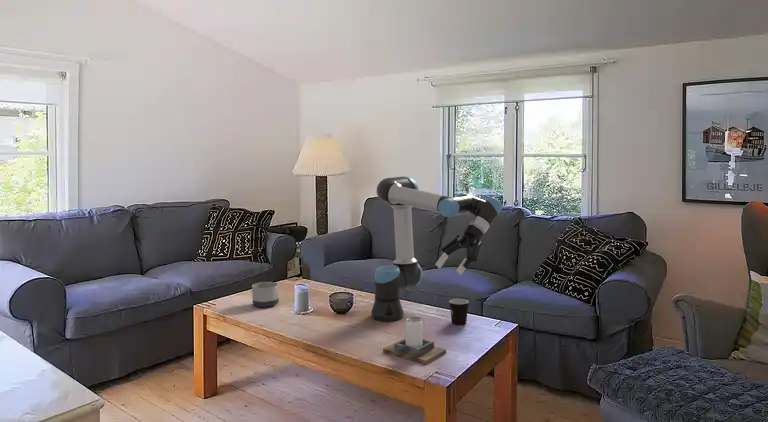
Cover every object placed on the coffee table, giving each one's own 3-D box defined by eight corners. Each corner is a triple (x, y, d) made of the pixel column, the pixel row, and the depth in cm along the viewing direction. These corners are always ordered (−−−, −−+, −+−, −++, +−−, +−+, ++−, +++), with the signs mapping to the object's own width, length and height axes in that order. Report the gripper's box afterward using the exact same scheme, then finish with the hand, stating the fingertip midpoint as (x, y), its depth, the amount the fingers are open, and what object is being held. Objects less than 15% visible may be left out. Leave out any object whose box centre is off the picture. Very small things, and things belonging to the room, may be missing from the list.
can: (411, 345, 218) (411, 315, 216) (425, 348, 214) (425, 318, 212) (402, 350, 212) (402, 319, 211) (416, 353, 209) (416, 322, 207)
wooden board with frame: (383, 352, 214) (382, 342, 214) (404, 341, 225) (404, 332, 225) (425, 364, 202) (425, 354, 202) (446, 352, 213) (446, 343, 212)
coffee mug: (468, 326, 243) (468, 304, 242) (448, 325, 245) (448, 303, 243) (469, 318, 254) (469, 297, 253) (450, 317, 256) (450, 296, 255)
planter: (275, 308, 273) (275, 288, 271) (250, 309, 273) (249, 288, 271) (281, 301, 285) (280, 281, 284) (256, 301, 285) (255, 281, 284)
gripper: (502, 239, 220) (472, 281, 214) (462, 231, 241) (434, 269, 235) (492, 227, 216) (462, 270, 210) (452, 220, 237) (424, 258, 231)
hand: (447, 269), depth 223 cm, fingers open, 13 cm apart
